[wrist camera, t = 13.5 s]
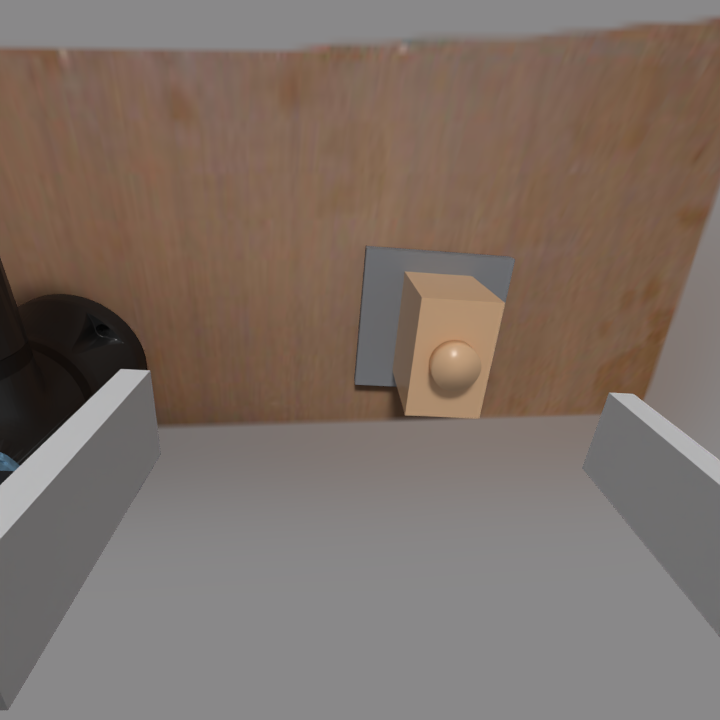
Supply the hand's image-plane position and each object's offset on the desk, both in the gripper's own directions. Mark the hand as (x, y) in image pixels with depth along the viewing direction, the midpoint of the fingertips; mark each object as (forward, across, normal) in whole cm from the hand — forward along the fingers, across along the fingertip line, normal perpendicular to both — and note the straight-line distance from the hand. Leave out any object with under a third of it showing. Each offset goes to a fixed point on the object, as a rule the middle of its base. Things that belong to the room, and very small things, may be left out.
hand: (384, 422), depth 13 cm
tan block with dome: (+35, +10, -9) cm, 38 cm away
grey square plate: (+37, +10, -9) cm, 39 cm away
